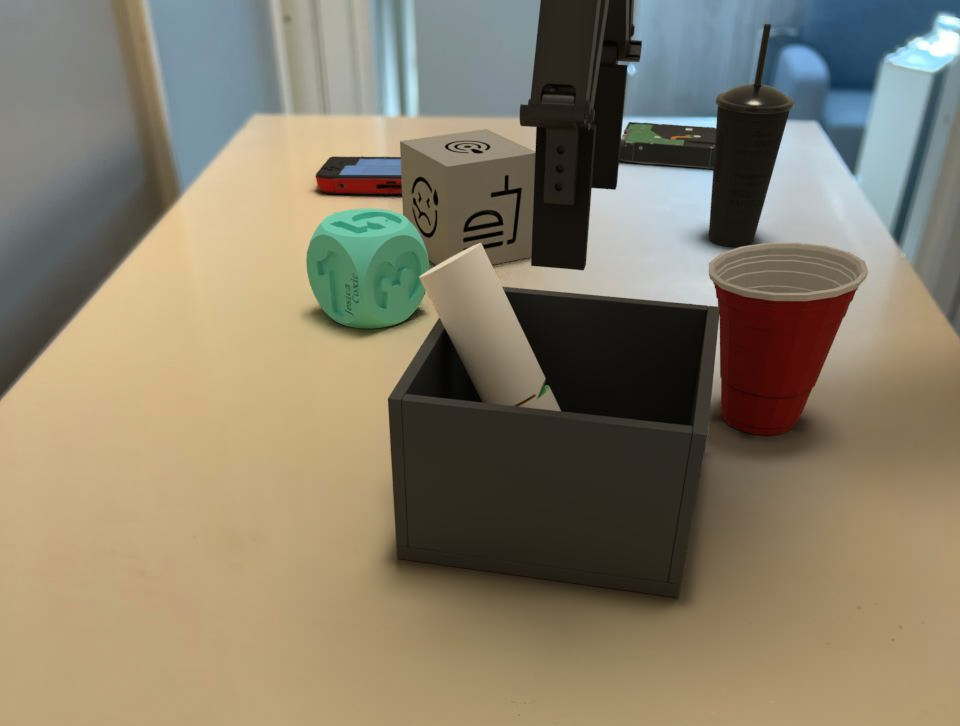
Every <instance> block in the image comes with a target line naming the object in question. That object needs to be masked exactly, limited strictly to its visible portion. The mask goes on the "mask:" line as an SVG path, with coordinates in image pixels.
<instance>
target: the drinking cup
mask: <svg viewBox="0 0 960 726" xmlns="http://www.w3.org/2000/svg"><path fill="white" fill-rule="evenodd" d="M771 30H772V24H771V23H764V24H763V30H762V34H761V39H760V40H761V41H760V47H759V53H758V58H757V64H756V71H755V76H754V83H749V84H747V83H746V84H741V85H738V86H735V87H733V88H730V89H729V90H726V91H724V92H721V93H719V94H717V95H716V96H715V105H716V106H717V110H716V112H717V113H716V126H715V128H716V138H715V152H714V167H713V168H712V170H713V171H712V183H711V197H710V210H709V211H710V212H709V224H708V226H709V227H708V239H709V241H710V242H712V243H714V244H716V245H719V246H725V247H732V248H733V247H735V248H739V247H743V246H750V245H753V243H754V241H755V237H756V235H757V231H758V226H759V223H760V219H761V215H762V212H763V208H764V205H765V202H766V197H767V195H768V190H769V186H770V184H771V180H772V176H773V172H774V169H775V165H776V162H777V158H778V155H779V151H780V148H781V143H782V141H783V137H784V134H785V130H786V125H787V122H788V118H789V116H790V112H791V111H792V110H793V109H794V106H795V100H794V99H793V98H792V97H791V96H788V95H786V94H785V93H784V92H783V91H781V90H780V89H777V88H776V87H773V86H770V85H767V84H762V83H763V82H762V81H763V76H764V70H765V64H766V58H767V53H768V46H769V42H770V41H769V40H770V34H771Z"/></svg>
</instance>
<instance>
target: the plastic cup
mask: <svg viewBox="0 0 960 726" xmlns="http://www.w3.org/2000/svg"><path fill="white" fill-rule="evenodd" d="M866 263H867V262H866V261H865V260H863V259H862V258H860V257H858V256H856V255H855V254H854V253H852V252H850V251H846V250H842V249H839V248H835V247H832V246H829V245H823V244H812V243H803V242H764V243H757V244H750V245H747V246H740V247H735V248H732V249H730V250H727V251H723V252H721V253H719V254H718V255H717V256H715V257H714V258H713V259H711V261H708V276H709V280H710V281H712V284H713V285H714V290H715V298H716V299H717V307H720V314H719V377H720V379H721V380H720V410H721V417H722V419H723V420H724V421H725V423H726V424H727V425H729V426H731V427H732V428H734V429H736V430H738V431H741V432H744V433H747V434H752V435H761V436H773V435H781V434H783V433H786V432H789V431H791V430H792V429H793V428H795V425H796V424H797V422H798V420H799V419H800V418H801V416H802V414H803V412H804V409H805V407H806V405H807V402H808V400H809V397H810V395H811V393H812V390H813V389H814V387H816V384H817V382H818V380H819V377H820V375H821V372H822V370H823V368H824V365H825V362H826V360H827V358H828V356H829V353H830V351H831V348H832V345H833V344H834V341H835V340H836V336H837V335H838V331H839V330H840V327H841V324H842V322H843V319H844V318H846V315H847V313H848V310H849V307H850V305H851V303H852V301H853V300H854V297H855V294H856V292H857V291H858V290H859V287H860V286H861V284H863V282H864V281H865V280H866V279H867V276H868V275H869V269H868V266H867V264H866Z"/></svg>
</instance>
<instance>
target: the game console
mask: <svg viewBox="0 0 960 726" xmlns="http://www.w3.org/2000/svg"><path fill="white" fill-rule="evenodd" d="M315 179H316V180H315V181H316V183H317V187H318V189H319V190H320V191H322V192H323V193H325V194H332V195H402V180H401V156H336V155H335V156H330V157H329V158H328V159H327V160H326V161H325V163H324V164H322V166H321V167H320V168H319V169H318V171H317V172H316V174H315Z"/></svg>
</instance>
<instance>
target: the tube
mask: <svg viewBox="0 0 960 726" xmlns="http://www.w3.org/2000/svg"><path fill="white" fill-rule="evenodd" d="M419 278H420V280H421V282H422V284H423V286H424V288H425V290H426V292H425V293H426V294H427V296H428V298H429V300H430V302H431V304H432V305H433V307H434V310H435V312H436V314H437V316H438V319H439V318H440V320H441V322H442V324H443V325H444V327H445V329H446V331H447V333H448V335H449V337H450V339H451V341H452V343H453V345H454V347H455V349H456V351H457V353H458V355H459V357H460V359H461V361H462V363H463V365H464V367H465V369H466V371H467V373H468V375H469V377H470V379H471V381H472V383H473V385H474V387H475V389H476V391H477V393H478V395H479V396H480V398H481V400H482V402H483V403H491V404H500V405H509V406H518V407H526V408H535V409H544V410H553V411H561V410H560V408H559V406H558V404H557V401H556V399H555V397H554V395H553V393H552V391H551V389H550V387H549V386H548V385H545V381H546V378H545V376H544V374H543V372H542V370H541V368H540V366H539V364H538V362H537V359H536V357H535V355H534V353H533V351H532V349H531V347H530V345H529V343H528V340H527V338H526V336H525V334H524V332H523V330H522V328H521V326H520V324H519V322H518V319H517V317H516V315H515V313H514V311H513V309H512V307H511V305H510V303H509V300H508V298H507V296H506V294H505V292H504V290H503V288H502V287H503V286H502V283H501V282H500V279H499V277H498V276H497V273H496V271H495V269H494V267H493V265H491V263H490V260H489V258H488V256H487V254H486V252H485V250H484V248H483V246H482V244H481V243H479V244H476V245H474V246H472V247H470V248H468V249H466V250H464V251H462V252H460V253H458V254H456V255H454V256H452V257H451V258H449V259H447V260H445V261H443V262H442V263H440V264H438V265H435V266H433V267H432V268H429V270H428V271H427V272H425V273H424V274H422V275H421V276H420V277H419Z"/></svg>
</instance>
